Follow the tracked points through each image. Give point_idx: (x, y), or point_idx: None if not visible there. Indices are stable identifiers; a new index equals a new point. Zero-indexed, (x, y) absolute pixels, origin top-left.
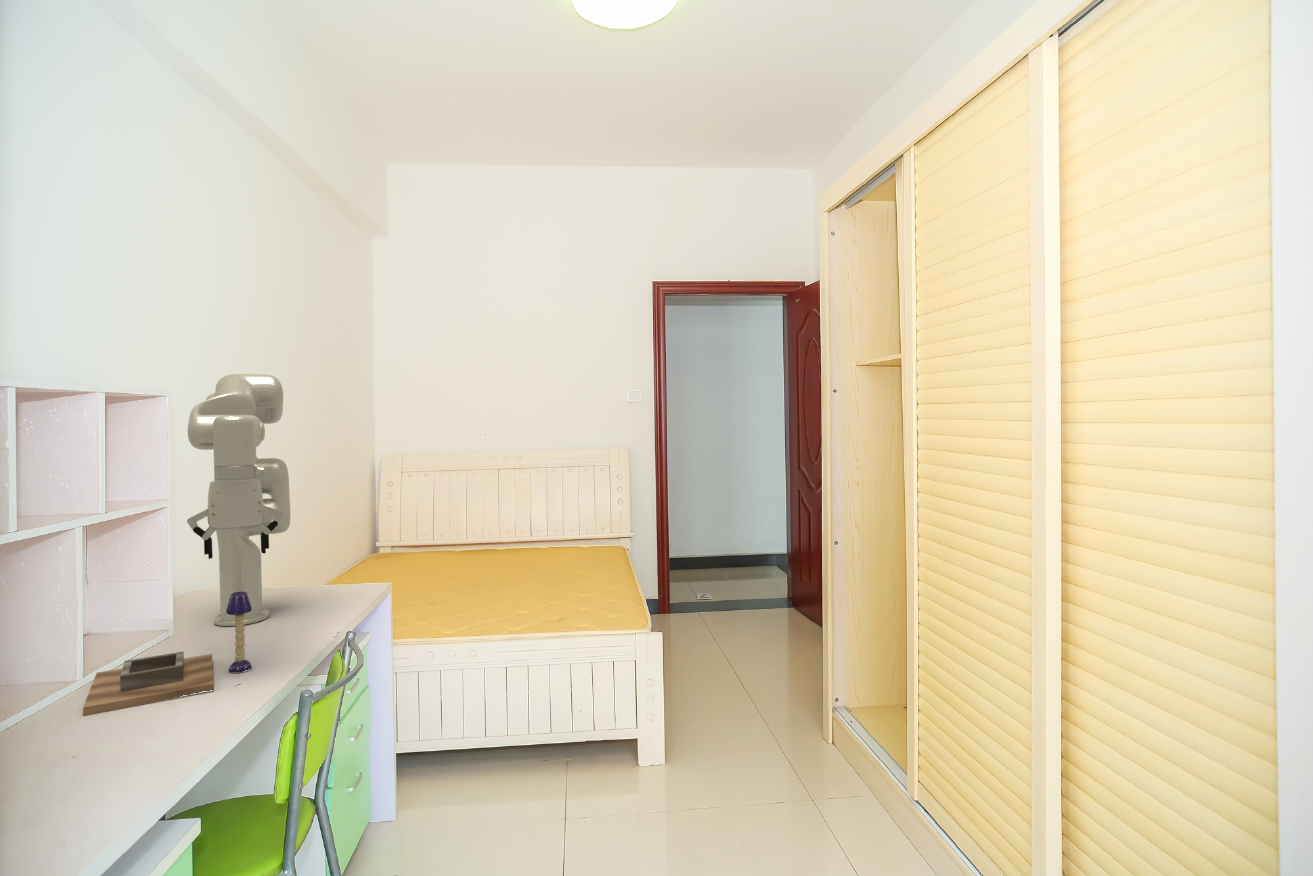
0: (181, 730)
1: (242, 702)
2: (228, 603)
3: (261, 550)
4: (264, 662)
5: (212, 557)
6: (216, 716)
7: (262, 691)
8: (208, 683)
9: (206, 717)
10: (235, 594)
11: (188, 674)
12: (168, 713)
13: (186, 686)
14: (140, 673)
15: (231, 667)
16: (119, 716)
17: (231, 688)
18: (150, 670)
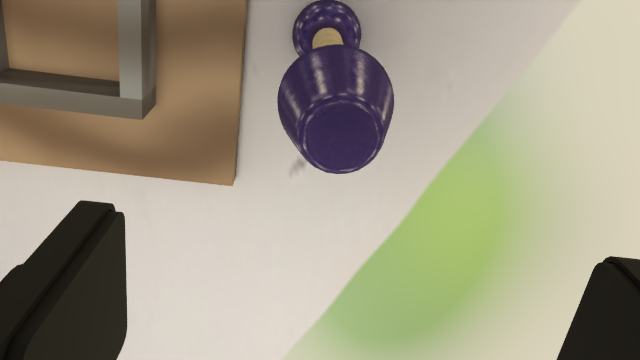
0: (162, 351)
1: (287, 287)
2: (285, 117)
3: (580, 335)
4: (407, 9)
5: (124, 336)
6: (228, 327)
7: (339, 251)
8: (221, 174)
9: (209, 320)
10: (318, 156)
11: (170, 51)
12: (134, 252)
13: (166, 160)
14: (20, 104)
15: (298, 48)
16: (26, 202)
17: (278, 182)
18: (47, 98)
